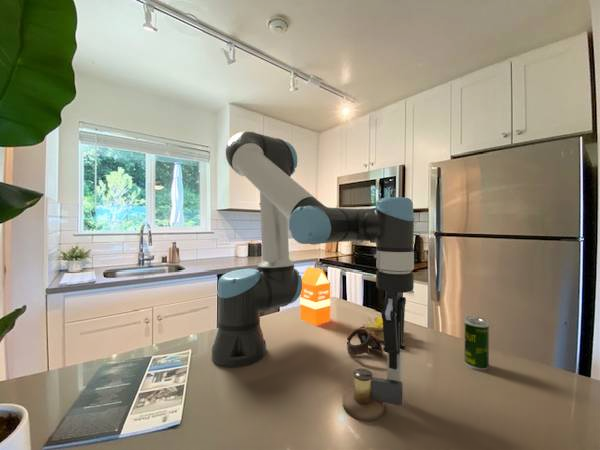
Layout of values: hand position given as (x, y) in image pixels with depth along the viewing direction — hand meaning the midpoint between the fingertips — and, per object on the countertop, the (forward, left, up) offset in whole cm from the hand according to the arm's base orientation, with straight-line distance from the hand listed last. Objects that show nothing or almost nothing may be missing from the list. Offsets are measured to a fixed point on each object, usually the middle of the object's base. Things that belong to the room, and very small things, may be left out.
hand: (394, 380), depth 58 cm
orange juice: (-38, +30, -4) cm, 49 cm away
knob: (-2, -6, -2) cm, 6 cm away
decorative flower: (-13, +31, -4) cm, 34 cm away
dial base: (-4, -7, -4) cm, 9 cm away
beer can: (+14, +25, -4) cm, 29 cm away
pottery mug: (-12, +15, -4) cm, 20 cm away
